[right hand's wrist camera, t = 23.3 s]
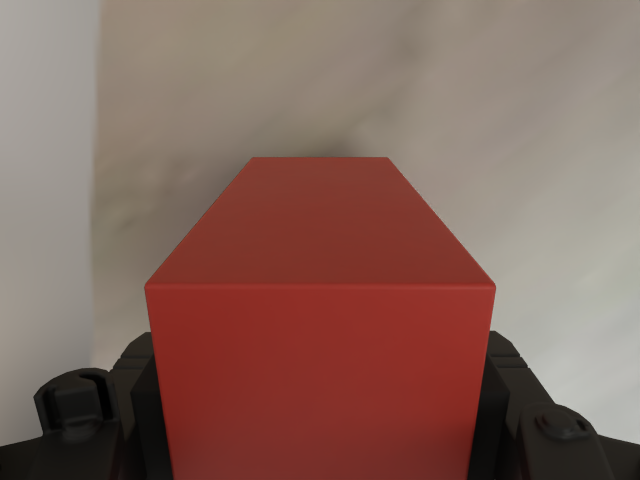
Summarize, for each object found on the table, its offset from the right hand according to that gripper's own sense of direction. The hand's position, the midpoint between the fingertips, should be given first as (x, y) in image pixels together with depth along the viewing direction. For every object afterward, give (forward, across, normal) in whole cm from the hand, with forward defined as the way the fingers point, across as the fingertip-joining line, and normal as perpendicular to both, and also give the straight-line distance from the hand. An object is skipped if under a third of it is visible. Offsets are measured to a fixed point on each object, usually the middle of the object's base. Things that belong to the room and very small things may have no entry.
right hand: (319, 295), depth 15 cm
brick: (+5, 0, 0) cm, 5 cm away
